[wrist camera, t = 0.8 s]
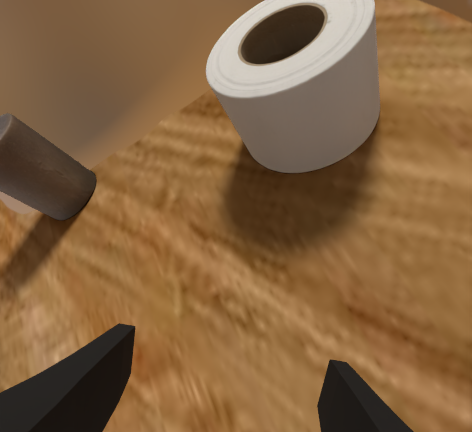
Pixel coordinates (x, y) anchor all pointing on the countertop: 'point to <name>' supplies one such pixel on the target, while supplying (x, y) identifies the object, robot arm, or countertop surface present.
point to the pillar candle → (41, 172)
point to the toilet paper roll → (299, 80)
